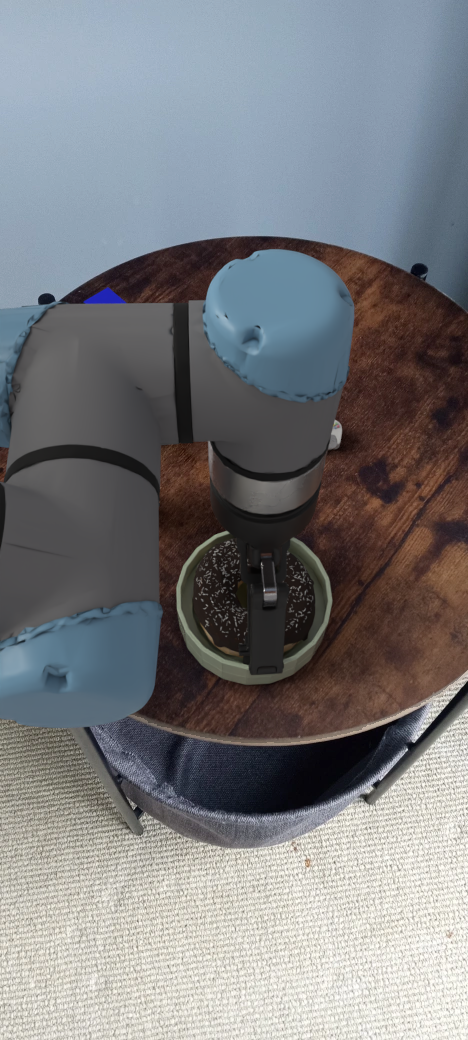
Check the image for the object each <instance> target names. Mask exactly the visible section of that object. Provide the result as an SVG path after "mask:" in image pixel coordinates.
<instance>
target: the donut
mask: <svg viewBox="0 0 468 1040" xmlns="http://www.w3.org/2000/svg"><path fill="white" fill-rule="evenodd" d="M247 565H248V566H252V564H251V562H250V560H249V558H248V555H247ZM197 567H198V568H197V570H196V572H195V573H196V574H195V577H194V587H193V606H194V610H195V614H196V616H197V617H198V619H199V622H200V624H201V626H202V628H203V630H204V631H205V633H206V635H207V636H208V638H209V639H210V641H211V642H212V643H213V645H214V646H216V647H217V648H218V649H220V650H221V651H223V652H224V653H226V654H230V655H233V656H237V657H241V658H243V656H239V645H238V644H244V642H245V636H248V624H247V609H245V608H242V605H241V603H240V601H239V599H238V597H237V595H236V592H237V590H238V588H239V586H240V585H241V584H242V583H243V581H242V580H241V574H240V552H239V551H238V550H237V544H236V538H233V539H229V540H226V541H223V542H221V543H218V544H216V545H214V546H213V547H212V548H211V549H210V550H209V551H208V552H207V553H206V554H205V555H204V557H203V558H202V560H201V562H200V563H199V565H198V566H197ZM282 582H287V584H288V587H289V590H290V594H288V600H287V606H286V617H285V635H284V652H286V651H288V650H290V649H291V648H293V647H294V646H295V645H296V644H297V643H298V642H300V641H301V640H303V641H305V640H306V639H308V633H309V631H310V629H311V627H312V625H313V622H314V617H315V591H314V586H313V585H314V581H313V580H312V579H311V577H310V575H309V573H308V571H307V569H306V568H305V567H304V565H303V564H302V563H301V561H300V560H299V559H298V558H296V557H295V556H294V555H293V554H292V553H290V552H289V551H287V576H286V579H285V580H284V581H282Z"/></svg>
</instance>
